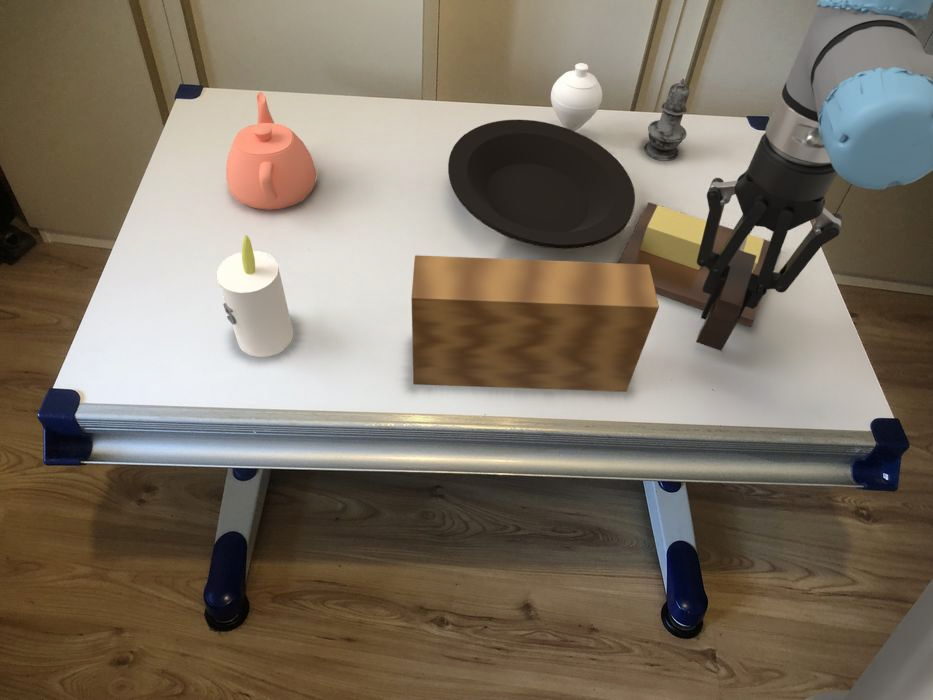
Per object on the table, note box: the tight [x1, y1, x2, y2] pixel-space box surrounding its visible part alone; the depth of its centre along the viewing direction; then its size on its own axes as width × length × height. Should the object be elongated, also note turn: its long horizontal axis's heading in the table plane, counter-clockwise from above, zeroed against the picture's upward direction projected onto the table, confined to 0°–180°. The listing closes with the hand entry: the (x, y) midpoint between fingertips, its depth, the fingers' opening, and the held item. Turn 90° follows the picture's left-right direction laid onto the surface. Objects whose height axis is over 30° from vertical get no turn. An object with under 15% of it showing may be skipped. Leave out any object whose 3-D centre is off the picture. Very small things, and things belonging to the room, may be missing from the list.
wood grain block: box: [410, 254, 660, 393], centre depth 73 cm, size 24×6×14 cm, turn 90°
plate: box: [447, 119, 636, 250], centre depth 95 cm, size 28×24×6 cm
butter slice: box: [743, 234, 765, 273], centre depth 88 cm, size 5×2×4 cm, turn 155°
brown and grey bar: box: [695, 235, 756, 352], centre depth 83 cm, size 22×3×8 cm, turn 155°
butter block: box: [640, 204, 707, 270], centre depth 90 cm, size 5×8×4 cm, turn 64°
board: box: [617, 202, 770, 328], centre depth 91 cm, size 16×18×1 cm
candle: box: [216, 234, 294, 358], centre depth 74 cm, size 6×6×15 cm
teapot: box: [225, 92, 317, 211], centre depth 94 cm, size 12×18×10 cm
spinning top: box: [550, 62, 603, 132], centre depth 104 cm, size 8×8×12 cm
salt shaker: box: [643, 78, 691, 162], centre depth 103 cm, size 6×6×12 cm
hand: (719, 315), depth 81 cm, fingers closed on brown and grey bar, 2 cm apart
